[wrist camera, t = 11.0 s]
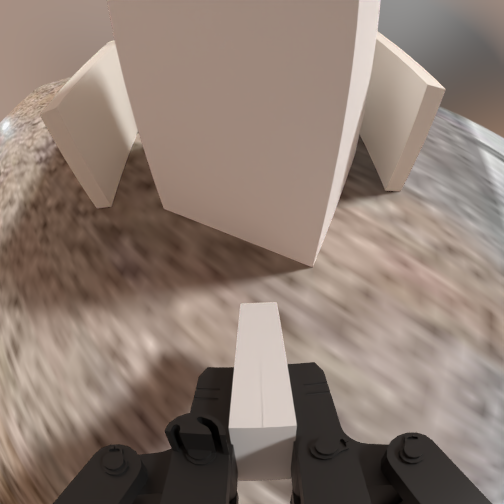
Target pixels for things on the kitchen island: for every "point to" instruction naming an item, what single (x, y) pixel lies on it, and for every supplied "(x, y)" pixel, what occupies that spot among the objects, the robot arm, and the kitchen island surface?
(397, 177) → the cubby
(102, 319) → the kitchen island surface
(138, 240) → the kitchen island surface
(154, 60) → the milk
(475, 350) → the kitchen island surface
